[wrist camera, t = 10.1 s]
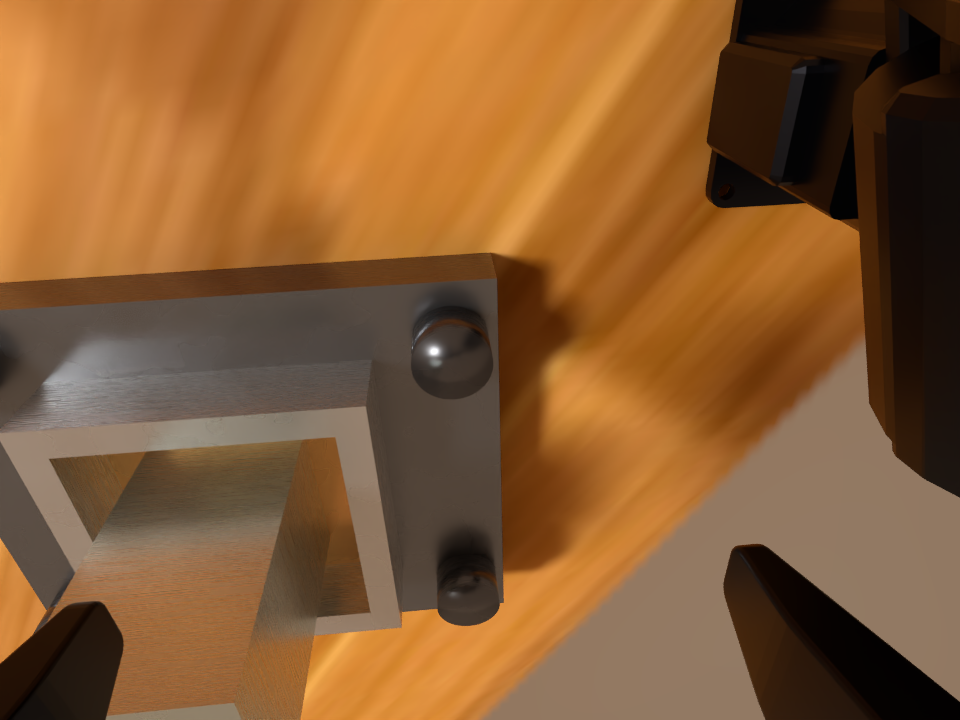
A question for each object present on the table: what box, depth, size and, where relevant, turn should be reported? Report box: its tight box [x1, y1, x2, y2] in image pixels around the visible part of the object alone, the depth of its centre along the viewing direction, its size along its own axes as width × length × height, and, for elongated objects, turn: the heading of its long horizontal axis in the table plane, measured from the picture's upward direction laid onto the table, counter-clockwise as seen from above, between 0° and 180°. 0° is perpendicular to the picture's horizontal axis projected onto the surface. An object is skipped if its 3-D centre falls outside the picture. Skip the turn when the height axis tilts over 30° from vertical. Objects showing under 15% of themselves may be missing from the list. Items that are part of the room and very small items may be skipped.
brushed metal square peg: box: [47, 439, 330, 720], centre depth 18 cm, size 5×6×9 cm
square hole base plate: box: [0, 253, 504, 635], centre depth 22 cm, size 18×15×4 cm
